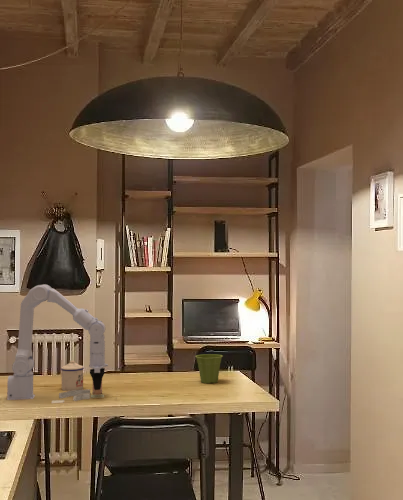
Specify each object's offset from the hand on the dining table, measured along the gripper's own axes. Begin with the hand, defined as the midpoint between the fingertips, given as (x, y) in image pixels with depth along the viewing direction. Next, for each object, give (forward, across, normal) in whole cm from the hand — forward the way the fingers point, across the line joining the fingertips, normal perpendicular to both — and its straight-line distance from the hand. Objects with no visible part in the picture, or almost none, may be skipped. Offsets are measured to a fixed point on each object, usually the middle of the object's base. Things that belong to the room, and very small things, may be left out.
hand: (97, 388), depth 247 cm
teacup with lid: (+4, +20, +10) cm, 22 cm away
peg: (+2, 0, 0) cm, 2 cm away
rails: (+3, -1, +9) cm, 9 cm away
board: (+3, -3, +7) cm, 8 cm away
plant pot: (+4, +24, -47) cm, 53 cm away
